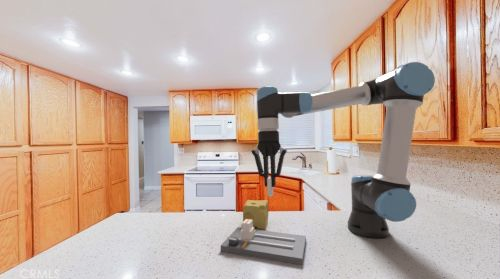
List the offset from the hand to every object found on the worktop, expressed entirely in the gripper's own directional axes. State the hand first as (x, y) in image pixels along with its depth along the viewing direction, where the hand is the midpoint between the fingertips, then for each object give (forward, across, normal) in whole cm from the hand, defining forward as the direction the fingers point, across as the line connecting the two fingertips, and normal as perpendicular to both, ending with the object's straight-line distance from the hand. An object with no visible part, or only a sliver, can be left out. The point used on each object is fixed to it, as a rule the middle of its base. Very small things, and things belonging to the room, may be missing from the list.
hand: (270, 195), depth 77 cm
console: (+19, +3, 0) cm, 19 cm away
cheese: (+19, +12, -18) cm, 28 cm away
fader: (+16, +9, 0) cm, 19 cm away
